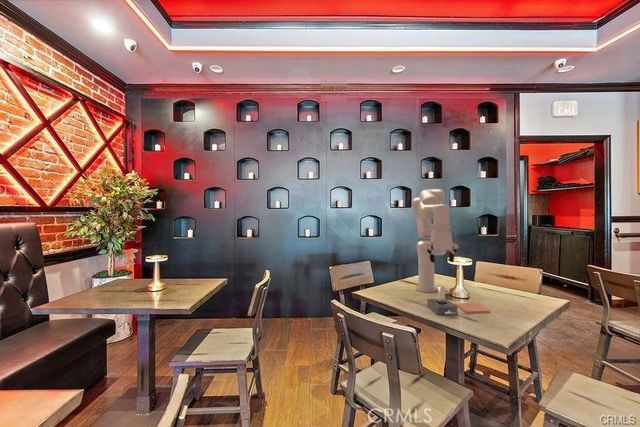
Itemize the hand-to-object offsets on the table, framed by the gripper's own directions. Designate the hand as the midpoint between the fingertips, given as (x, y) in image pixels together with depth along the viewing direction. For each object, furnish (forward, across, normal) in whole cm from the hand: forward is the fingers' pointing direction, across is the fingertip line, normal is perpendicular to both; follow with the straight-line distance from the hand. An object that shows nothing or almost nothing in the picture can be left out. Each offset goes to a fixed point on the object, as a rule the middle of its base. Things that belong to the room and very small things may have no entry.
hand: (441, 262), depth 146 cm
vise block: (+25, +1, +2) cm, 25 cm away
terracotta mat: (+24, -15, -1) cm, 29 cm away
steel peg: (+25, +1, 0) cm, 25 cm away
